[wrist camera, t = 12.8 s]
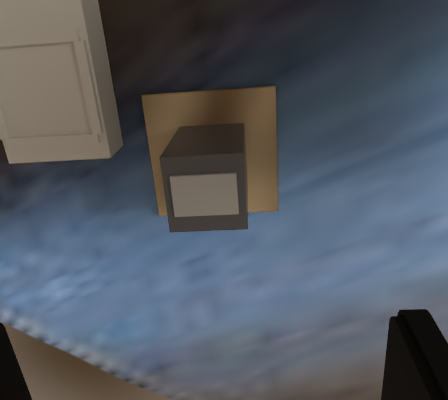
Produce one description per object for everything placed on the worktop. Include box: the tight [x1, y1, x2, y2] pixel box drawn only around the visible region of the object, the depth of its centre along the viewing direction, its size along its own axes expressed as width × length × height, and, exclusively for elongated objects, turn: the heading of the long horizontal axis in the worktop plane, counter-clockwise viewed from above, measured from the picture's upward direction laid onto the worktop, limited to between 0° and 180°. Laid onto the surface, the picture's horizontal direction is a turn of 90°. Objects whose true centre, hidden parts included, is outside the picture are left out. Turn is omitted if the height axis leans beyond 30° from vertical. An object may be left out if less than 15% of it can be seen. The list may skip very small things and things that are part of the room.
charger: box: [159, 123, 248, 232], centre depth 26 cm, size 4×4×7 cm
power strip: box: [0, 0, 123, 164], centre depth 23 cm, size 18×7×7 cm, turn 4°
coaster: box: [141, 86, 278, 216], centre depth 29 cm, size 9×9×1 cm
